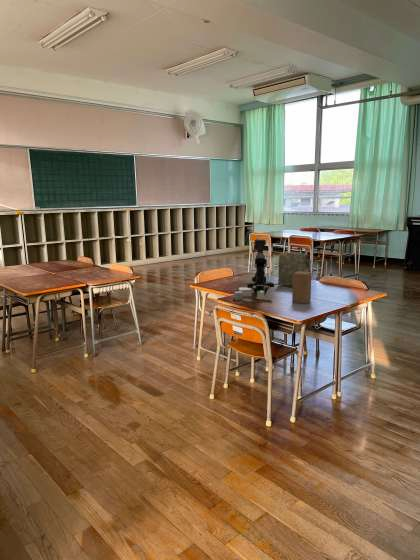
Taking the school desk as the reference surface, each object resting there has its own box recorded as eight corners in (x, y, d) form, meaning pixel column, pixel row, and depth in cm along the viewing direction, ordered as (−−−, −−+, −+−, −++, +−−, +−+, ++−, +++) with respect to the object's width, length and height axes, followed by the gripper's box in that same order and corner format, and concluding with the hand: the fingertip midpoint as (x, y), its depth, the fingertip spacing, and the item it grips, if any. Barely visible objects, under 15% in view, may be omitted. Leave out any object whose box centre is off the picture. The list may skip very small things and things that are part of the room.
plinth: (249, 294, 304) (249, 287, 303) (251, 296, 296) (251, 289, 295) (238, 294, 304) (238, 287, 303) (240, 296, 296) (240, 289, 295)
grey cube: (241, 298, 291) (241, 291, 290) (242, 299, 286) (242, 292, 285) (234, 298, 291) (234, 291, 290) (235, 300, 286) (235, 293, 285)
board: (253, 299, 286) (253, 299, 286) (255, 301, 280) (256, 301, 280) (242, 300, 285) (242, 299, 285) (244, 302, 279) (244, 301, 279)
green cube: (262, 297, 292) (262, 290, 291) (264, 299, 287) (264, 292, 286) (255, 297, 291) (255, 290, 290) (257, 299, 287) (257, 292, 286)
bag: (310, 285, 330) (312, 251, 325) (303, 289, 317) (304, 253, 312) (284, 282, 343) (285, 249, 337) (276, 286, 330) (277, 251, 324)
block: (306, 304, 272) (307, 274, 268) (291, 302, 277) (292, 273, 273) (310, 301, 281) (312, 272, 277) (296, 299, 286) (297, 270, 282)
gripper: (270, 272, 295) (269, 294, 298) (244, 273, 293) (244, 295, 296) (274, 275, 284) (274, 297, 287) (247, 276, 282) (247, 298, 285)
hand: (259, 297), depth 289 cm, fingers closed on green cube, 5 cm apart
